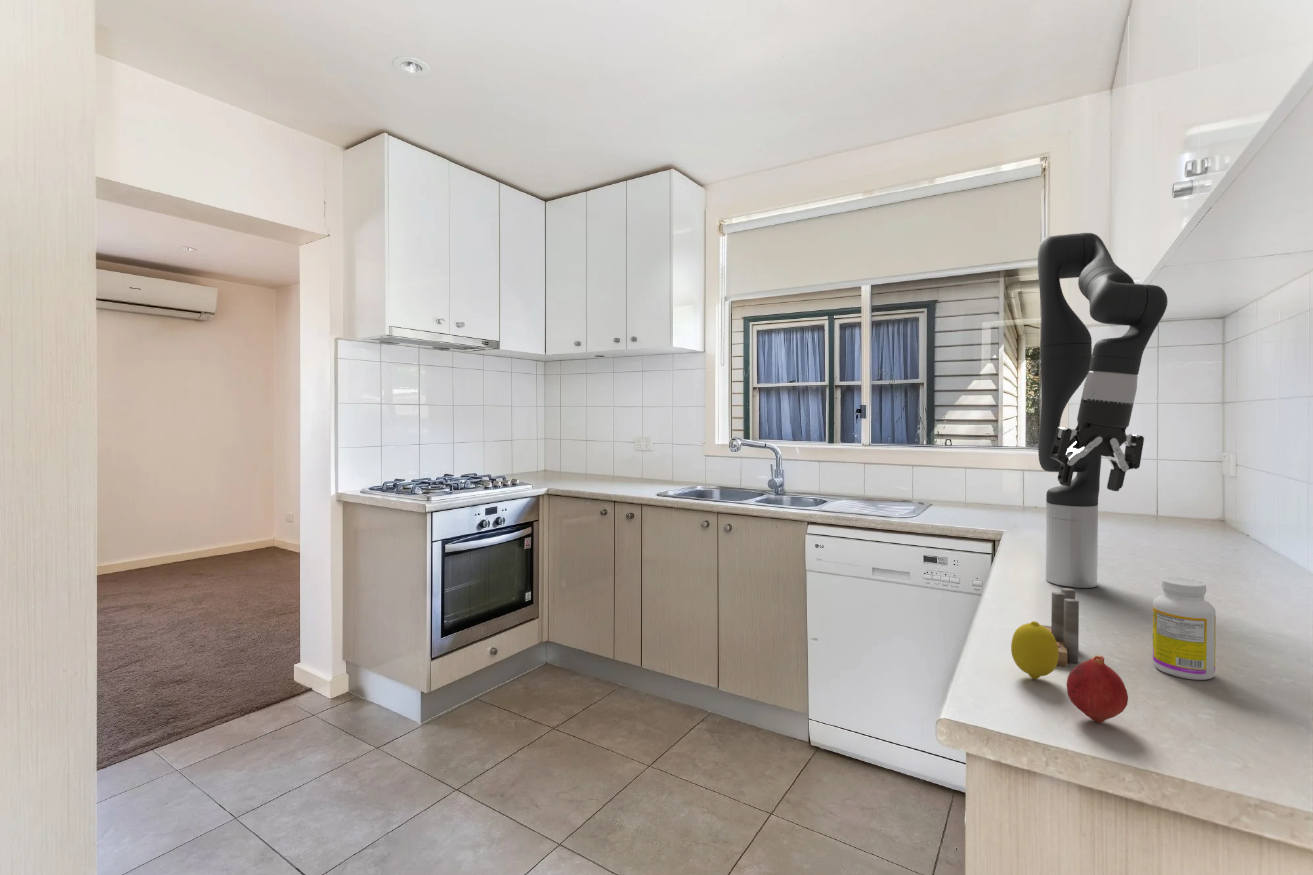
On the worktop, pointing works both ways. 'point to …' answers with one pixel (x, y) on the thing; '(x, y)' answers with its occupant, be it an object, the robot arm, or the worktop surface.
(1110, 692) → the onion
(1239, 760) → the worktop surface
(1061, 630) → the pin block
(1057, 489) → the robot arm
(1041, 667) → the lemon
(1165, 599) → the supplement bottle
